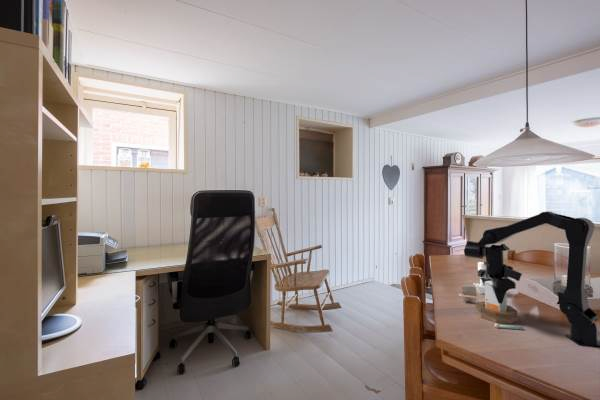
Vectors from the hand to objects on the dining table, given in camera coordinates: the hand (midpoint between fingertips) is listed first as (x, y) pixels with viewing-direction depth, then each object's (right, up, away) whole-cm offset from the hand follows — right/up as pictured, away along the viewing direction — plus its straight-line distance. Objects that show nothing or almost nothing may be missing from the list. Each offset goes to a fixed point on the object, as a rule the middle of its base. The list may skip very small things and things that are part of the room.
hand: (495, 300), depth 111 cm
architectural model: (0, -7, +16) cm, 18 cm away
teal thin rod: (-2, -6, -11) cm, 13 cm away
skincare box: (0, -5, 0) cm, 5 cm away
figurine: (+14, -7, +29) cm, 33 cm away
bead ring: (0, -6, 0) cm, 6 cm away
